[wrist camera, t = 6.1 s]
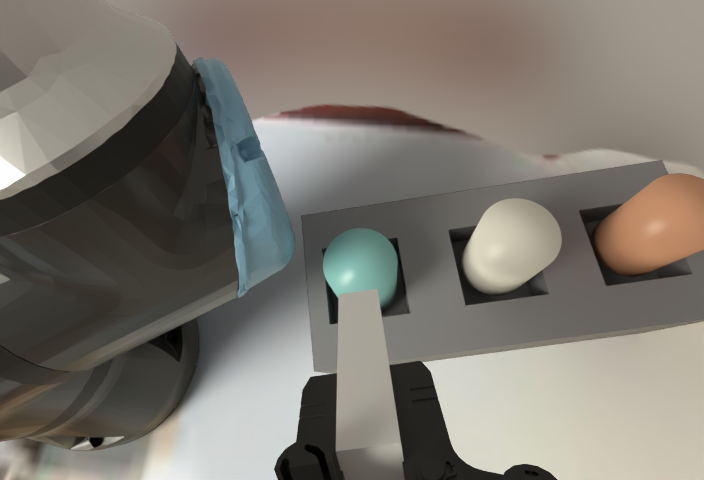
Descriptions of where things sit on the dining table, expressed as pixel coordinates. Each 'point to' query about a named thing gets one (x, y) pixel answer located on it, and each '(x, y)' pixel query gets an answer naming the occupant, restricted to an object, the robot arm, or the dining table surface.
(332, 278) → the teal button
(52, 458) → the dining table surface
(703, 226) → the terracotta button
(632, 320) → the button console
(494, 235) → the cream button
